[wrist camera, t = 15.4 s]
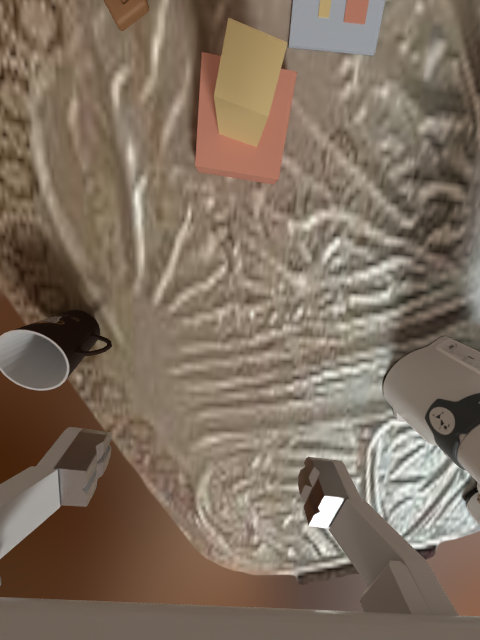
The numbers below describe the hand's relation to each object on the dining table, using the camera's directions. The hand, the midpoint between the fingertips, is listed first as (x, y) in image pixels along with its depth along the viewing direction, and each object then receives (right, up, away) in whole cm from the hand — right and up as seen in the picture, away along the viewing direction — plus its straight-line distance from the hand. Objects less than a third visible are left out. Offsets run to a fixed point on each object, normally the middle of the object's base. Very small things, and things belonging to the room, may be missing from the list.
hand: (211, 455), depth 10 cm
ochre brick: (+2, +28, +16) cm, 33 cm away
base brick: (+1, +29, +20) cm, 36 cm away
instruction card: (+12, +40, +16) cm, 44 cm away
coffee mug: (-23, +4, +29) cm, 37 cm away
